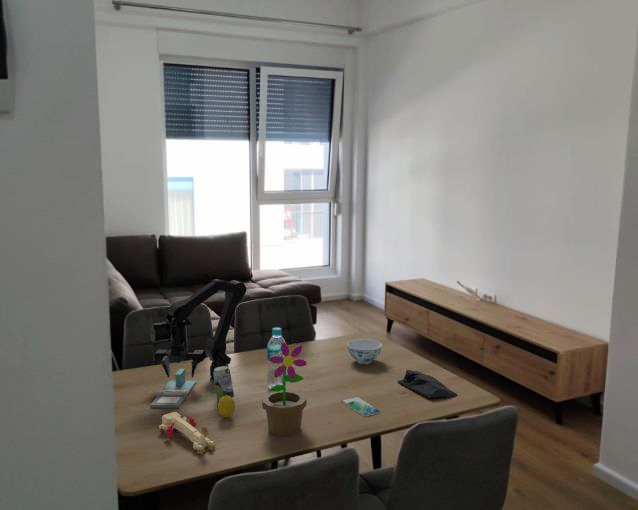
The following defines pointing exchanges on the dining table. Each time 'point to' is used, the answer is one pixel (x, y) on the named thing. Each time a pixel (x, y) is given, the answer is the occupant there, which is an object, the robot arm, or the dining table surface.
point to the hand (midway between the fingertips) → (180, 377)
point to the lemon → (226, 406)
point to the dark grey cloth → (425, 385)
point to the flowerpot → (285, 396)
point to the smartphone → (361, 406)
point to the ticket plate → (170, 397)
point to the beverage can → (223, 382)
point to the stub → (181, 381)
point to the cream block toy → (187, 431)
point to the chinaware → (364, 350)
